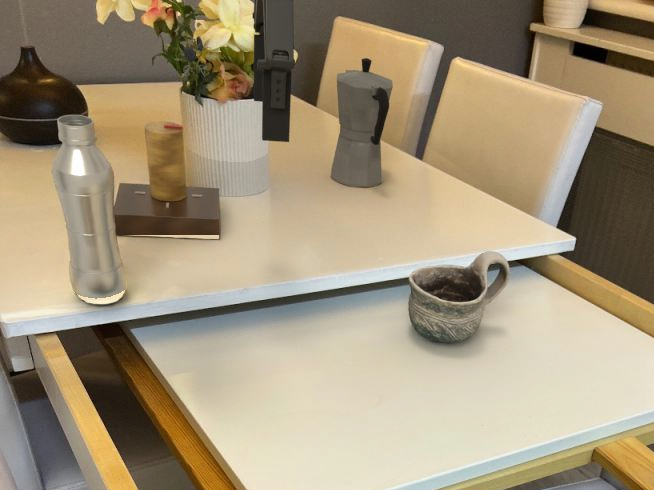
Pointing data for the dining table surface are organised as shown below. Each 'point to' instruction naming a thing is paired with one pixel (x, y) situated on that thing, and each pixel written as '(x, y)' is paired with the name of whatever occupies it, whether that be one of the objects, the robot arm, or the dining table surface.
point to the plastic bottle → (88, 210)
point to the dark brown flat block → (166, 212)
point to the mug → (454, 297)
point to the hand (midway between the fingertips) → (270, 119)
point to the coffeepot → (360, 126)
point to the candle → (166, 160)
